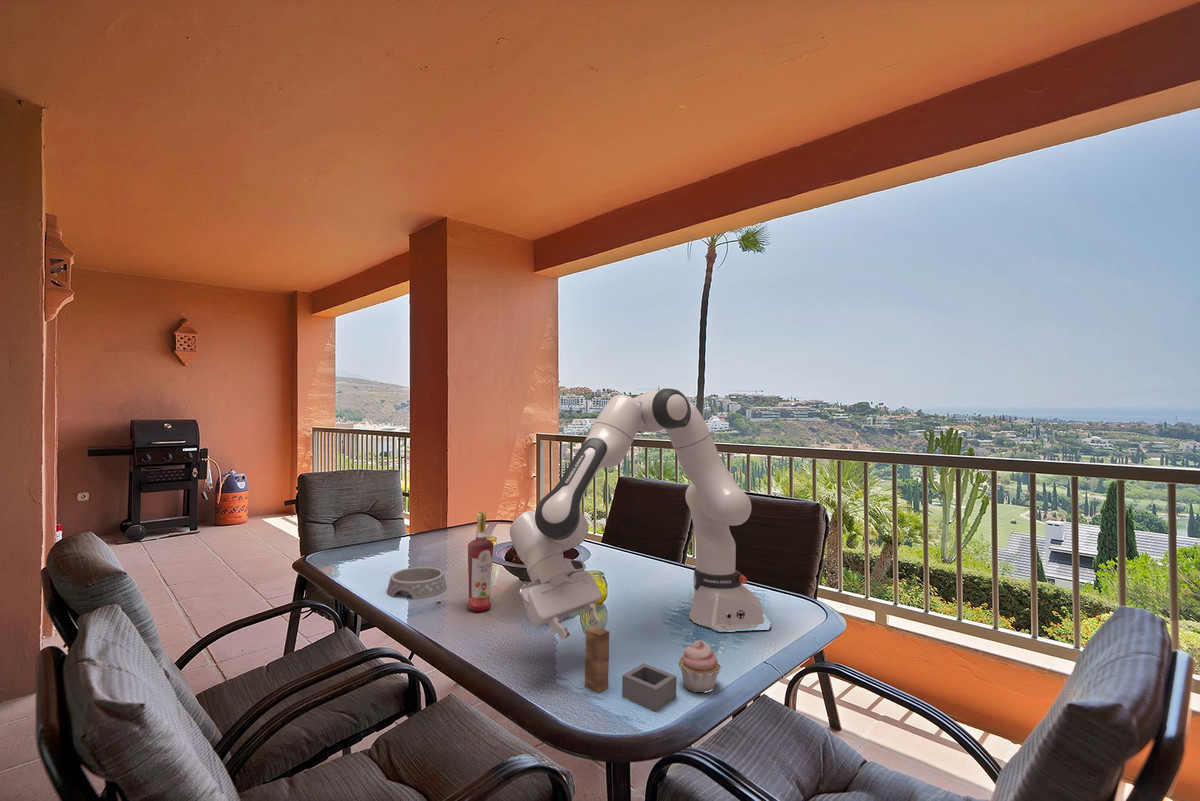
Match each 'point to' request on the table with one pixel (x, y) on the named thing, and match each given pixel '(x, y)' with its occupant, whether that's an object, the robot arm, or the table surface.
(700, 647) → the cupcake
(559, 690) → the table surface
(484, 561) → the liquor
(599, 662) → the brown wooden block
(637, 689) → the end cap
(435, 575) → the dog bowl
